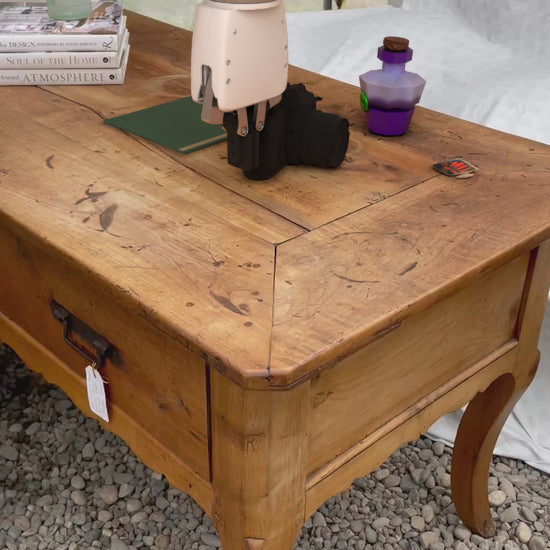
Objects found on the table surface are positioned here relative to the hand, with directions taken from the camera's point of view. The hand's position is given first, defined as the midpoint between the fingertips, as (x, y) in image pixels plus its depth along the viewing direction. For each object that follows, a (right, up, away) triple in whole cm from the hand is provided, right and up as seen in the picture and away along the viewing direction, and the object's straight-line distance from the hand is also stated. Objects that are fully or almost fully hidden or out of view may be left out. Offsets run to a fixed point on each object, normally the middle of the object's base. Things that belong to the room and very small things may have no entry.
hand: (243, 165), depth 83 cm
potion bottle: (+18, +7, +20) cm, 28 cm away
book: (-7, +9, +21) cm, 24 cm away
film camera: (+6, +1, +9) cm, 11 cm away
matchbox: (+25, 0, +8) cm, 26 cm away
